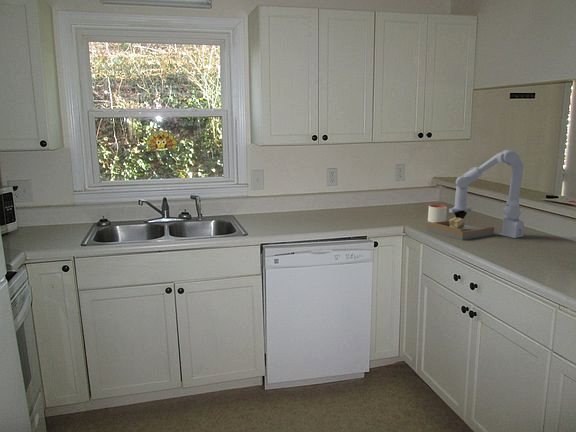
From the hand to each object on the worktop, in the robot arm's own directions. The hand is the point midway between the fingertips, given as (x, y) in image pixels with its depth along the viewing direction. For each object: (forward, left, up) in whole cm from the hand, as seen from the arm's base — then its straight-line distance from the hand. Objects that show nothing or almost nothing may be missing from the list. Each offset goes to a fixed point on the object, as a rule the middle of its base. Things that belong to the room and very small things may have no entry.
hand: (459, 224), depth 254 cm
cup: (+23, -8, -4) cm, 25 cm away
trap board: (0, 0, -4) cm, 4 cm away
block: (0, +1, -2) cm, 2 cm away
